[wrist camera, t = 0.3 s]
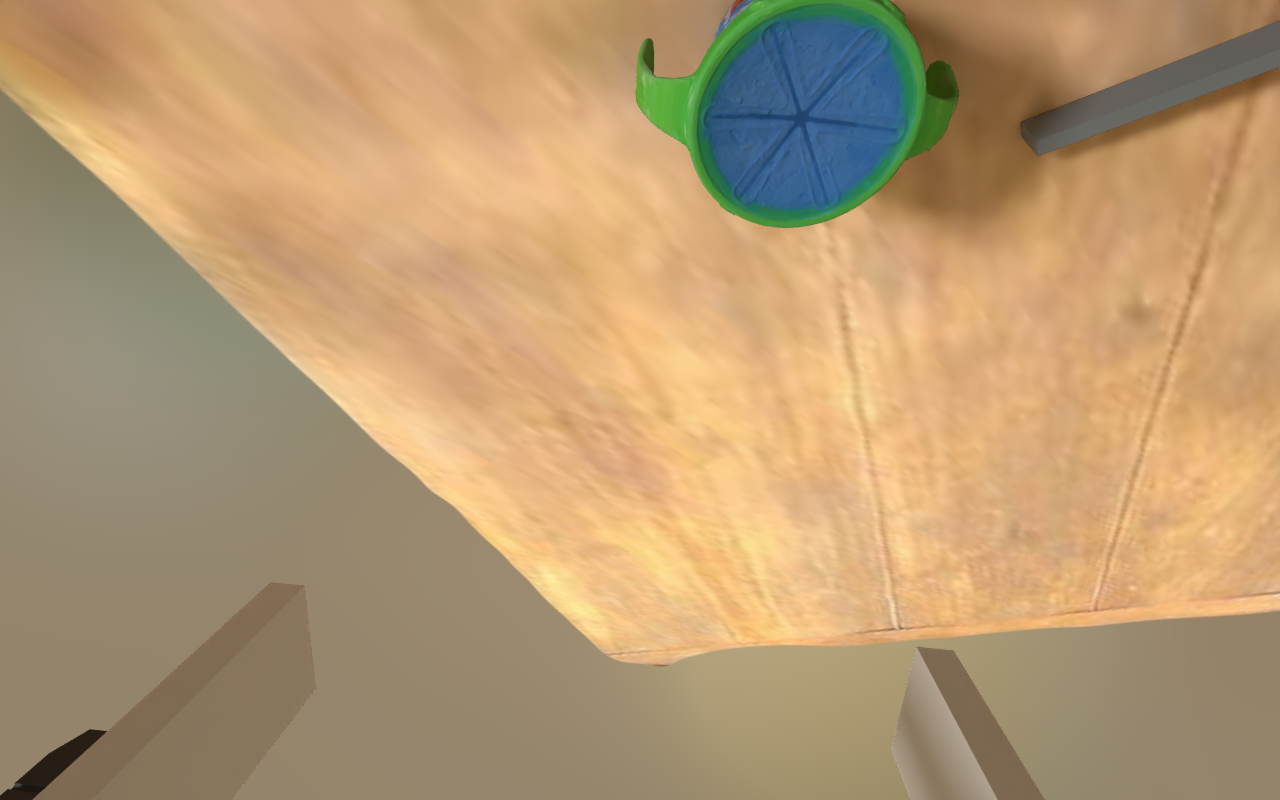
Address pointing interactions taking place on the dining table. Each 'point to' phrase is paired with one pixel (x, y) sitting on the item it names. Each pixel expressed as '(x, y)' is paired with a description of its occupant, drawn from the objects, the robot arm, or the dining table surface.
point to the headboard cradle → (1155, 90)
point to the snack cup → (802, 106)
